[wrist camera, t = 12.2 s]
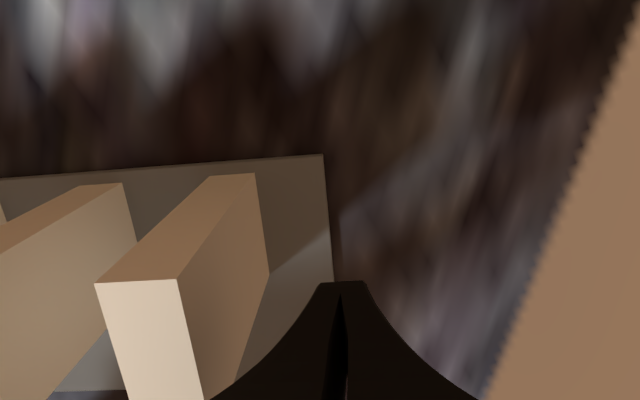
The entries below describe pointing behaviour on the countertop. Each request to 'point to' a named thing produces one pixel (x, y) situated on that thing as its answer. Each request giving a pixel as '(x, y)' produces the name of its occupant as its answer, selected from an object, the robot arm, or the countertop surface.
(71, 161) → the countertop surface
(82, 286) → the domino
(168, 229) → the domino
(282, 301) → the mat
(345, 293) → the robot arm
